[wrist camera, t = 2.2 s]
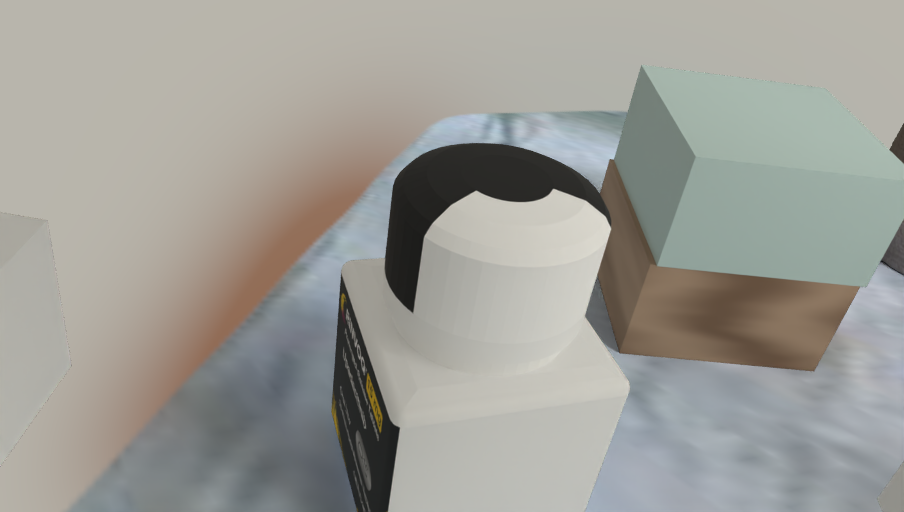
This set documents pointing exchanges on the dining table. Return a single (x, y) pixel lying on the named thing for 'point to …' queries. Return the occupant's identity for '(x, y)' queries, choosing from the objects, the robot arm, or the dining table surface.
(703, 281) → the tower base block
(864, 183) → the tower top block
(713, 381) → the dining table surface
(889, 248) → the pillar candle
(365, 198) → the dining table surface
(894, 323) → the dining table surface
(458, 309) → the medicine bottle
